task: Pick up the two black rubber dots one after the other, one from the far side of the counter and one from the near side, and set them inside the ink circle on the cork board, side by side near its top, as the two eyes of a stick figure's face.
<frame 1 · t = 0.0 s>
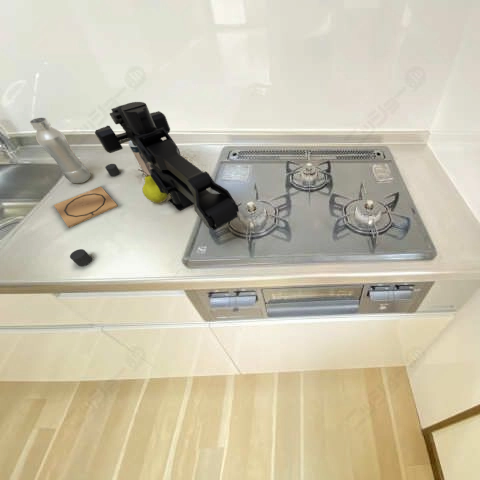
hand: (123, 122, 85), 17 cm above the countertop, tool horizontal, fingers open, 9 cm apart
plastic bottle: (82, 180, 93), on the countertop
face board: (86, 206, 84), on the countertop
eye dot right: (115, 173, 95), on the countertop
fruit: (161, 200, 87), on the countertop, touching arm
eye dot left: (84, 261, 70), on the countertop
beer can: (152, 173, 96), on the countertop
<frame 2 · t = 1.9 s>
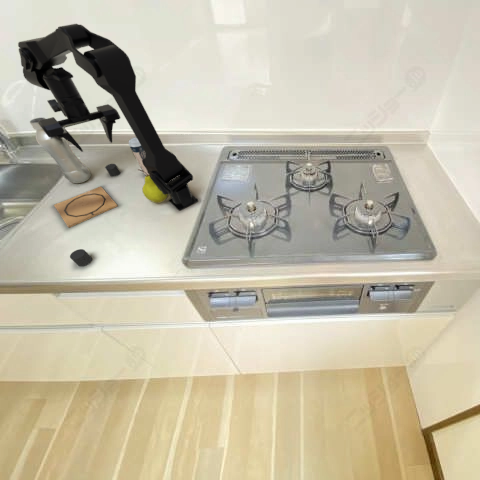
hand: (96, 146, 88), 10 cm above the countertop, tool pointing down, fingers open, 8 cm apart
plastic bottle: (82, 180, 93), on the countertop, touching gripper
everything else where it was.
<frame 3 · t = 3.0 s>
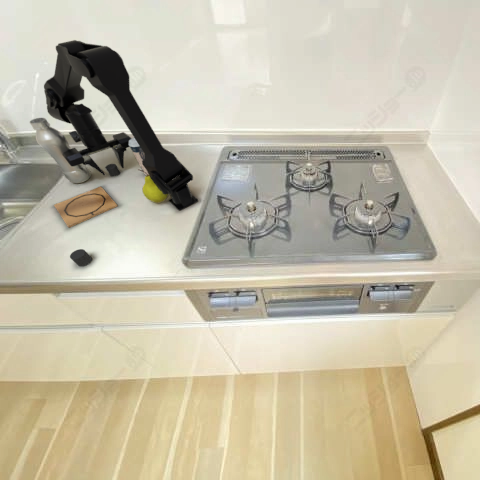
hand: (113, 171, 94), 1 cm above the countertop, tool pointing down, fingers open, 6 cm apart
plastic bottle: (82, 180, 93), on the countertop
everything else where it was.
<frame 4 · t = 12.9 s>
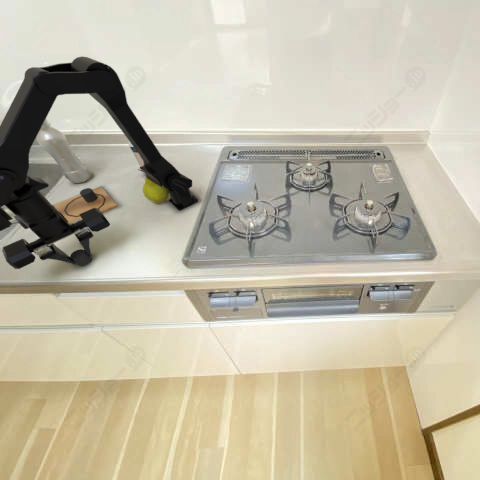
hand: (82, 259, 69), 1 cm above the countertop, tool pointing down, fingers closed on eye dot left, 3 cm apart
eye dot right: (91, 199, 85), point 1 cm above the countertop, touching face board
eye dot left: (84, 261, 70), on the countertop, touching gripper
everything else where it was.
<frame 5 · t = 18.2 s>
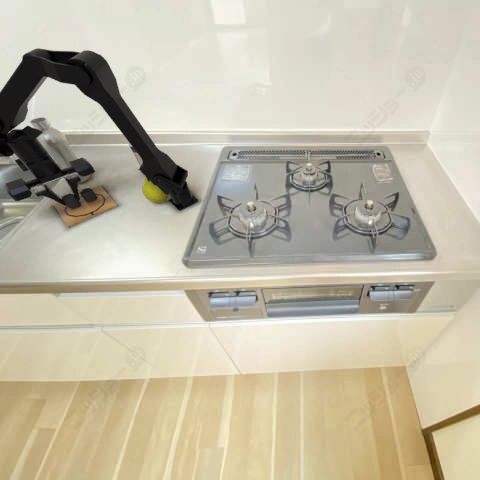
hand: (72, 202, 82), 2 cm above the countertop, tool pointing down, fingers closed on eye dot left, 3 cm apart
eye dot left: (74, 204, 82), point 1 cm above the countertop, touching gripper
everything else where it was.
when the fingers open (3 cm above the countertop, at t = 23.8 s): eye dot left drops 1 cm, resting on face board.
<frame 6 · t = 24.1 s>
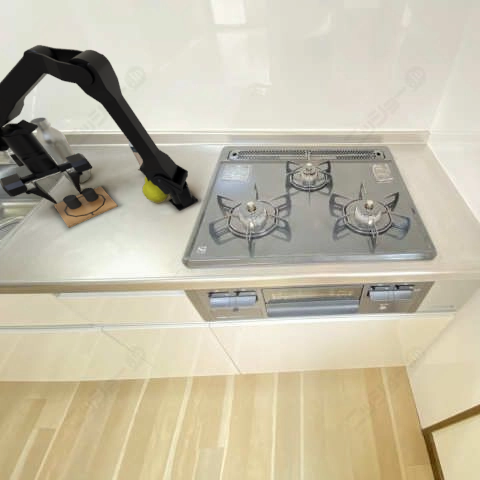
hand: (68, 198, 81), 4 cm above the countertop, tool pointing down, fingers open, 6 cm apart
eye dot right: (92, 198, 85), point 1 cm above the countertop, touching gripper
eye dot left: (75, 205, 83), point 1 cm above the countertop, touching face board
everything else where it was.
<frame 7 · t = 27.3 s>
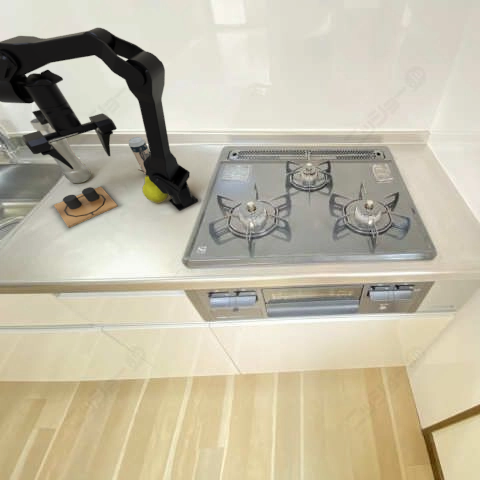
hand: (91, 162, 77), 13 cm above the countertop, tool pointing down, fingers open, 9 cm apart
eye dot right: (93, 198, 85), point 1 cm above the countertop, touching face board
everything else where it was.
at the end: eye dot right 0.4 cm from the target spot on the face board, point 0.6 cm above the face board's base; eye dot left 0.2 cm from the target spot on the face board, point 0.6 cm above the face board's base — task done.
